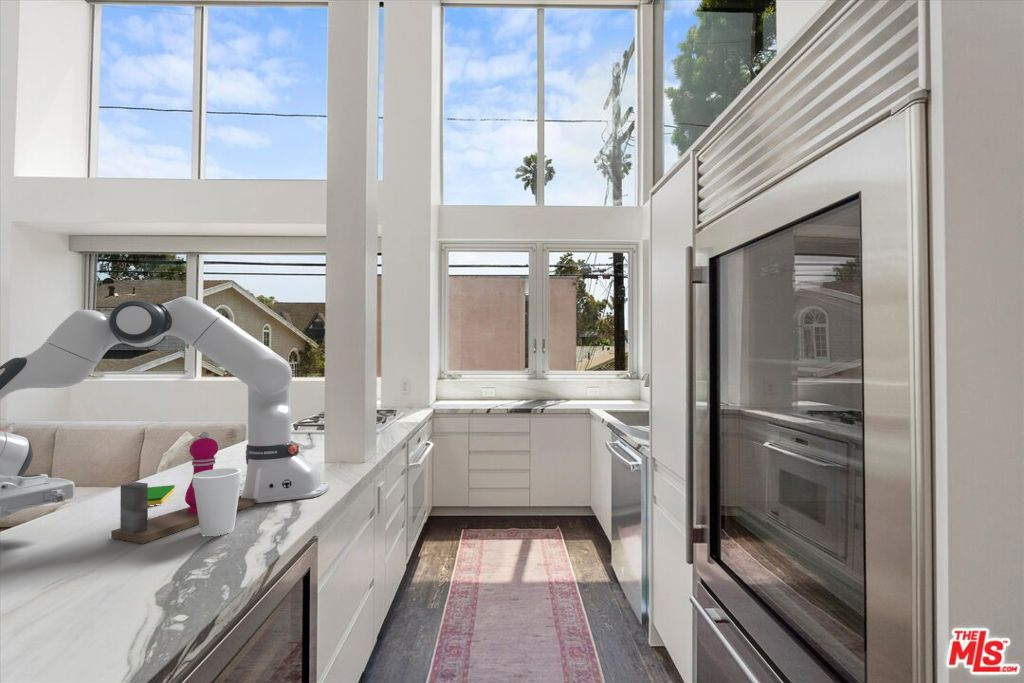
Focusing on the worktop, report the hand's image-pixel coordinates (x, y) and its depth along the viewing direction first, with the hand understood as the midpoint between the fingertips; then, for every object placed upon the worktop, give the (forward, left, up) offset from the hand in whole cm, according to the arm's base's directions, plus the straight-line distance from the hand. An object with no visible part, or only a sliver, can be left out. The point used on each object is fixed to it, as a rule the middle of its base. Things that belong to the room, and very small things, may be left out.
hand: (33, 504), depth 102 cm
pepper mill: (-24, -17, -9) cm, 31 cm away
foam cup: (-33, -5, -10) cm, 34 cm away
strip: (-23, -15, -9) cm, 29 cm away
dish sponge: (-5, -35, -10) cm, 37 cm away
